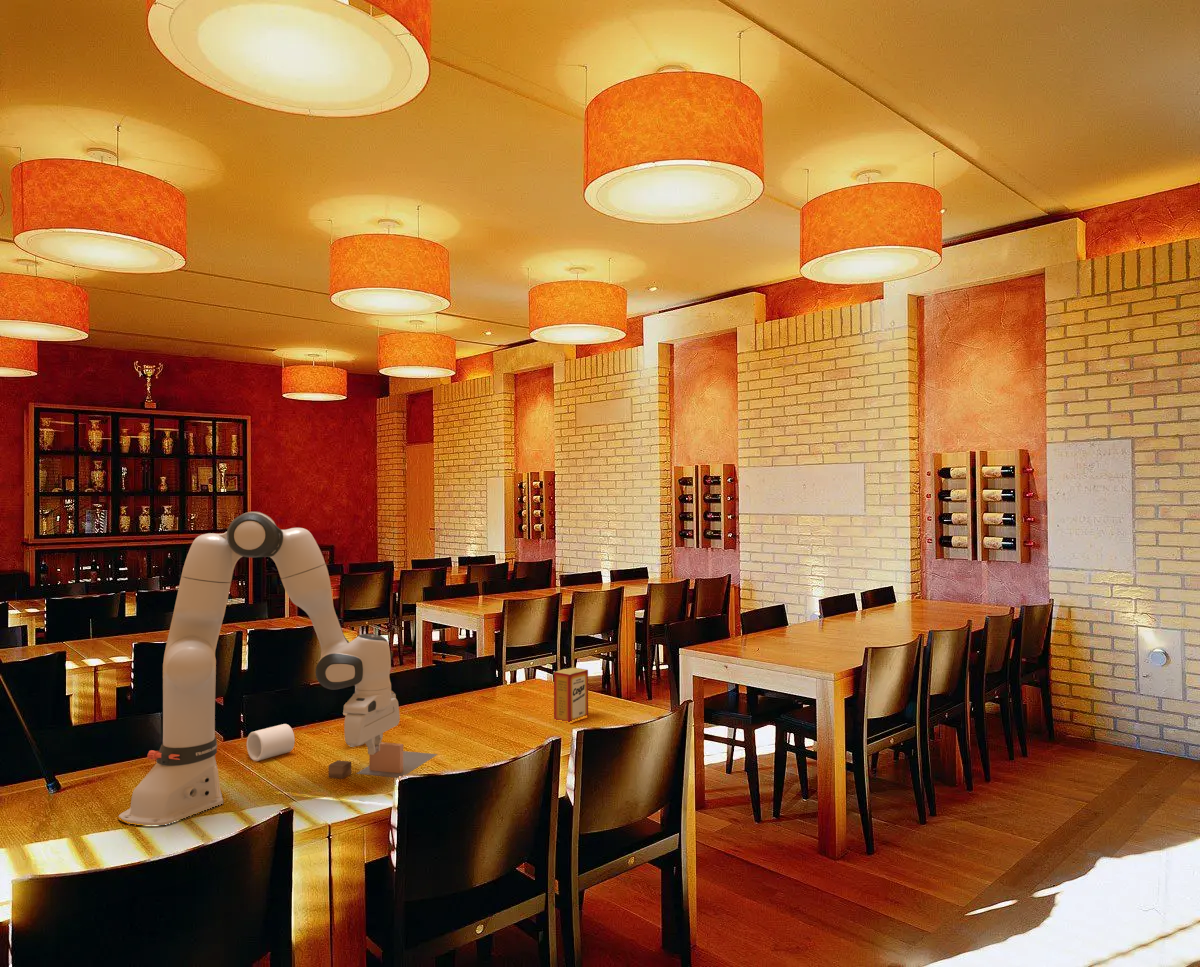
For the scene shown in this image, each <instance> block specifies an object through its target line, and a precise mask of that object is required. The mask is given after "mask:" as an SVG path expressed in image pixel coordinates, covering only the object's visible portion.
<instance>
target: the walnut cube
mask: <svg viewBox="0 0 1200 967" xmlns="http://www.w3.org/2000/svg"><path fill="white" fill-rule="evenodd" d="M350 775H352V761H350V760H348V761H347V760H336V761H333V762H332V763H330V764H328V778H331V779H339V780H340V779H341V780H343V779H344V778H346V777H349V776H350Z"/></svg>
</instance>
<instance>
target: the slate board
mask: <svg viewBox="0 0 1200 967" xmlns="http://www.w3.org/2000/svg"><path fill="white" fill-rule="evenodd" d="M436 756H438V754H437V753H428V752H419V751H418V752H417V751H416V752H415V751H407V750H403V772H401V773H394V772H384V771H374V770H369V765H367V766H366V767H364V768H363V769H360V770H359V771H358V772H356V773H355V774H357V775H367V776H375V777H377V776H378V777H386V778H387V777H388V778H396V779H398V778H397V777H399V776H403V775H405V776H406V775H408V774H410V773H412V772H413V771H414V770H416V769H418V768H419V767H420V766H422V765H423V764H425V763H426V762H428V761H430V760H431V759H433V758H434V757H436ZM403 777H404V776H403Z"/></svg>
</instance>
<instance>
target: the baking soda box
mask: <svg viewBox="0 0 1200 967" xmlns="http://www.w3.org/2000/svg"><path fill="white" fill-rule="evenodd" d="M586 715H588V716H589V670H588V669H585V668H579V667H573V666H572V667H569V668H563V669H559V670H557V671H554V672H553V719H556V720H562V721H568V722H570V721H572V720H575V719H578V718H580V717H583V716H586Z"/></svg>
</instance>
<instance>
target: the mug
mask: <svg viewBox="0 0 1200 967" xmlns="http://www.w3.org/2000/svg"><path fill="white" fill-rule="evenodd" d="M295 739H296V738H295V733H294V731H293V728H292V727H291V726H290V725H289V724H287V723H283V724H282V723H281V724H278V725H274V726H269V727H266V728H262V729H258V730H255V731H251V732H250V733H249V734H248V736H247V739H246V749H247V750H246V751H247V753H248V756H249V758H250V759H251V760H253V762H259V761H263V760H266V759H269V758H270V759H271V758H273V757H277V756H280V755H284V754H287V753H291V751H293V749H294V747H295V742H296V741H295Z"/></svg>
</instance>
